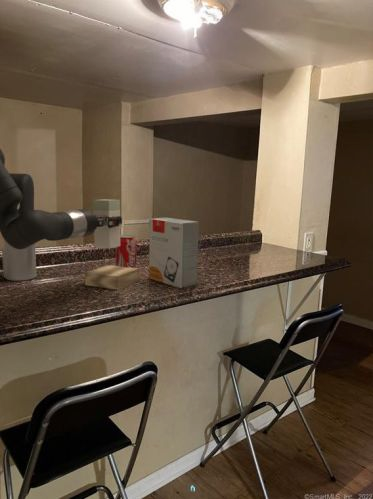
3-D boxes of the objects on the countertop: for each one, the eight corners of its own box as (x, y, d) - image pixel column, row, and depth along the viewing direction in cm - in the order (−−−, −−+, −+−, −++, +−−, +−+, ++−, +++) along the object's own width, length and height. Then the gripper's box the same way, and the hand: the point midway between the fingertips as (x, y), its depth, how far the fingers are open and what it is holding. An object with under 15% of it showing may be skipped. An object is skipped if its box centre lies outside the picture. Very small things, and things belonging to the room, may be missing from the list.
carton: (94, 247, 117) (93, 199, 115) (105, 244, 122) (104, 199, 120) (109, 248, 115) (108, 200, 112) (120, 246, 120) (119, 199, 117)
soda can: (113, 271, 139) (113, 234, 136) (133, 269, 141) (133, 234, 139) (118, 275, 132) (118, 237, 130) (139, 274, 135) (139, 236, 133)
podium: (85, 285, 120) (84, 272, 119) (108, 276, 130) (107, 265, 130) (118, 289, 115) (117, 276, 114) (139, 280, 126) (139, 268, 125)
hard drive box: (148, 279, 128) (148, 218, 125) (165, 275, 133) (166, 217, 130) (180, 288, 117) (181, 222, 114) (198, 284, 122) (200, 220, 119)
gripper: (96, 211, 101) (132, 207, 116) (53, 208, 107) (92, 206, 122) (97, 239, 102) (132, 233, 117) (54, 236, 108) (93, 230, 123)
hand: (112, 219), depth 119 cm, fingers closed on carton, 5 cm apart
